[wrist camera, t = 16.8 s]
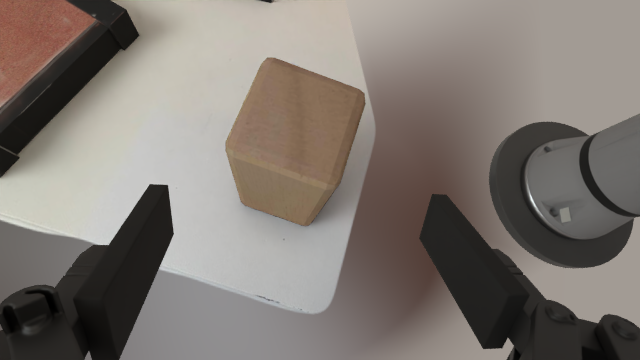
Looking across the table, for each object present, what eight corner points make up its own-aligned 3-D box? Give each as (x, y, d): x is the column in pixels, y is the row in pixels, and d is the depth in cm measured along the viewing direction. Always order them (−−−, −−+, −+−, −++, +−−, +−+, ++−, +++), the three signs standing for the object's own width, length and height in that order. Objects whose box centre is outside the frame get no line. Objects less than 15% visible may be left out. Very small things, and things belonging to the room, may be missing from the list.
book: (40, -24, 51) (17, -55, 47) (139, 35, 51) (126, 9, 46) (-118, 106, 43) (-166, 84, 38) (-1, 178, 43) (-35, 165, 38)
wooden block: (331, 163, 50) (371, 88, 31) (309, 229, 46) (339, 190, 27) (265, 140, 49) (264, 48, 30) (238, 204, 46) (219, 148, 27)
